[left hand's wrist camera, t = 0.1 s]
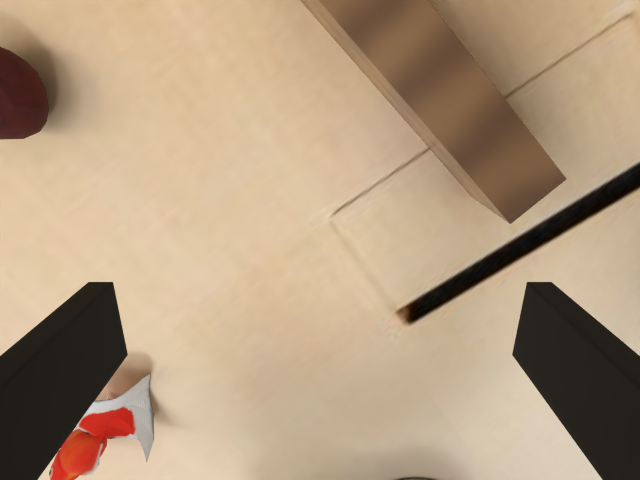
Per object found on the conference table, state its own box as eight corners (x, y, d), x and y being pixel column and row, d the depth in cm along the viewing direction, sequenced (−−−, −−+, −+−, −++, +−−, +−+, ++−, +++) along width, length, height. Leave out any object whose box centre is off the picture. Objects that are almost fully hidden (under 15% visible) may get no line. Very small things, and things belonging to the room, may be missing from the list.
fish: (-4, 422, 44) (-14, 501, 37) (121, 330, 48) (135, 385, 40) (69, 458, 51) (73, 532, 43) (174, 375, 54) (195, 429, 47)
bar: (515, 160, 39) (566, 179, 31) (472, 197, 40) (510, 224, 32) (339, -58, 33) (345, -107, 25) (294, -6, 34) (287, -36, 26)
